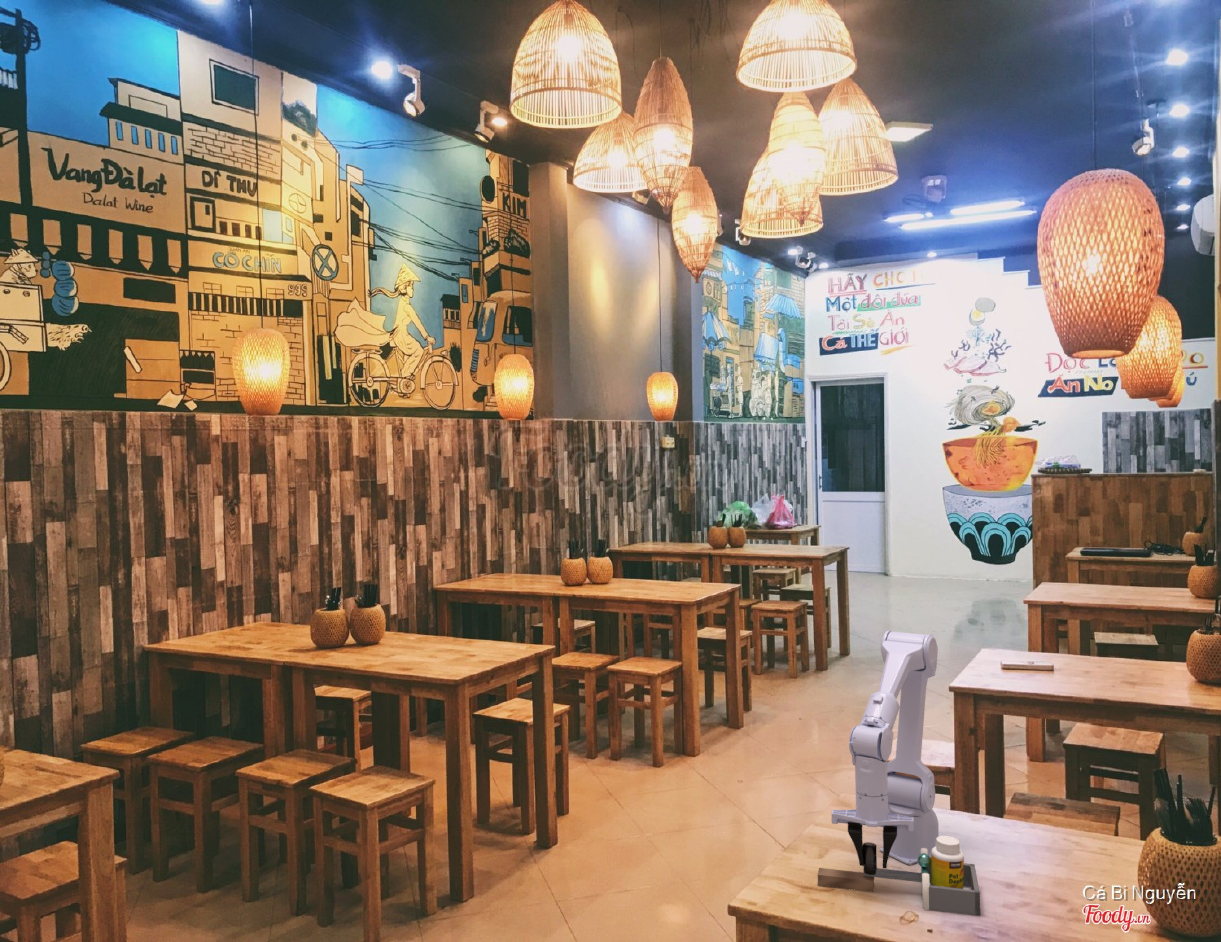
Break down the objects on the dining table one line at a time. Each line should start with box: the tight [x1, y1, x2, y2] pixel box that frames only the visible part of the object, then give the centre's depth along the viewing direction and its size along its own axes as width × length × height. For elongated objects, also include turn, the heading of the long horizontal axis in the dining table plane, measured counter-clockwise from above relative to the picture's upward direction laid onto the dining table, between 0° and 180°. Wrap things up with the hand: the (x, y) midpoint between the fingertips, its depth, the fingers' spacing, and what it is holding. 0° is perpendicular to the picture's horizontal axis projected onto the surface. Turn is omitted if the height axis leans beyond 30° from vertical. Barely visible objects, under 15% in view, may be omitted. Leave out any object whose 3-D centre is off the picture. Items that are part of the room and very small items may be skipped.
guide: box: [817, 867, 875, 893], centre depth 169 cm, size 10×3×2 cm, turn 72°
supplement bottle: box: [930, 835, 965, 889], centre depth 164 cm, size 6×6×10 cm
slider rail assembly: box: [862, 841, 931, 901], centre depth 166 cm, size 12×7×8 cm, turn 72°
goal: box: [921, 848, 981, 917], centre depth 164 cm, size 9×12×6 cm
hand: (873, 864), depth 168 cm, fingers open, 3 cm apart
